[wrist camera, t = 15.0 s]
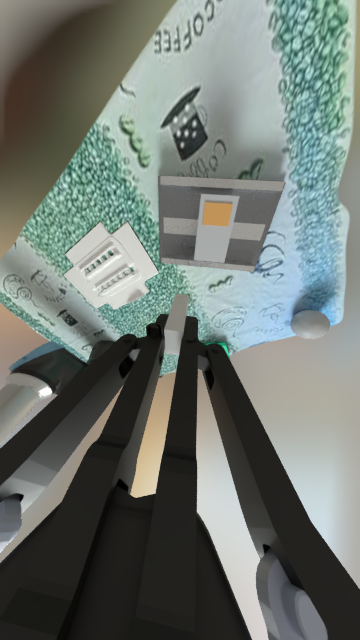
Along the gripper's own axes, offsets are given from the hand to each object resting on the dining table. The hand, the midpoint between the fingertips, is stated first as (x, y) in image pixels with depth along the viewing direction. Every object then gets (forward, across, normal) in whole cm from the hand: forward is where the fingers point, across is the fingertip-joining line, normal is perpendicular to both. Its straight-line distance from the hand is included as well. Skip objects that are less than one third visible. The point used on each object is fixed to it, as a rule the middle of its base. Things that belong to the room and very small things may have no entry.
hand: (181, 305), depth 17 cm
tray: (+26, -24, -6) cm, 36 cm away
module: (+23, +4, +7) cm, 25 cm away
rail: (+25, +4, +7) cm, 26 cm away
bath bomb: (+25, +34, -13) cm, 44 cm away
